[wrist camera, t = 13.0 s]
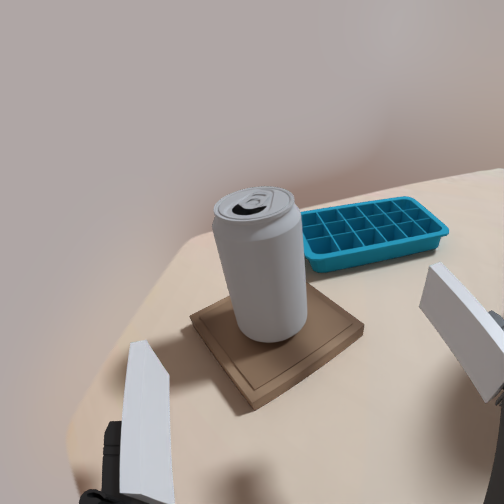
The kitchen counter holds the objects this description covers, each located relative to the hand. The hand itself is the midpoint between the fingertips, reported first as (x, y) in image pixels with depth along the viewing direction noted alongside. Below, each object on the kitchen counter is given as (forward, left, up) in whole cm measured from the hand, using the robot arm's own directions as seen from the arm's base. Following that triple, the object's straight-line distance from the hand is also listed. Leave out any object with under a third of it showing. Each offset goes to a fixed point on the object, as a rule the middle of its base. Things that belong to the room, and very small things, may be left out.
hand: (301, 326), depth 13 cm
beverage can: (-4, -10, -11) cm, 15 cm away
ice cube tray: (-23, -14, -13) cm, 30 cm away
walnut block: (-4, -10, -12) cm, 16 cm away
